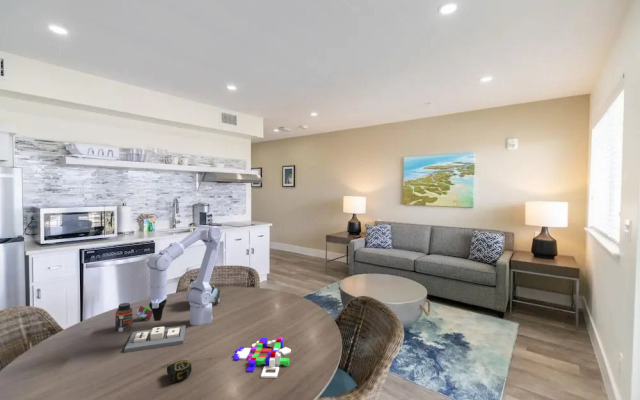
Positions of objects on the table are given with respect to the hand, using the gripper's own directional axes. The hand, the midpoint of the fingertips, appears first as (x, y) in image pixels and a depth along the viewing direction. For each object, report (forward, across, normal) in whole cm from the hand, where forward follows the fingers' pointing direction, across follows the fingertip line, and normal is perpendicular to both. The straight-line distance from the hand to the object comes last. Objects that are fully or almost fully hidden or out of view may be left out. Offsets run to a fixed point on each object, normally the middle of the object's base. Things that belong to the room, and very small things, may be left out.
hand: (157, 320), depth 115 cm
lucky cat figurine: (+9, -38, +17) cm, 42 cm away
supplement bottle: (+9, -15, -14) cm, 23 cm away
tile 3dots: (+9, 0, -6) cm, 10 cm away
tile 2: (+9, 0, +6) cm, 10 cm away
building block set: (+9, +23, +36) cm, 44 cm away
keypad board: (+9, 0, 0) cm, 9 cm away
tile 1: (+8, 0, 0) cm, 8 cm away
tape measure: (+9, +27, +9) cm, 30 cm away
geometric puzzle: (+9, -25, -8) cm, 28 cm away
